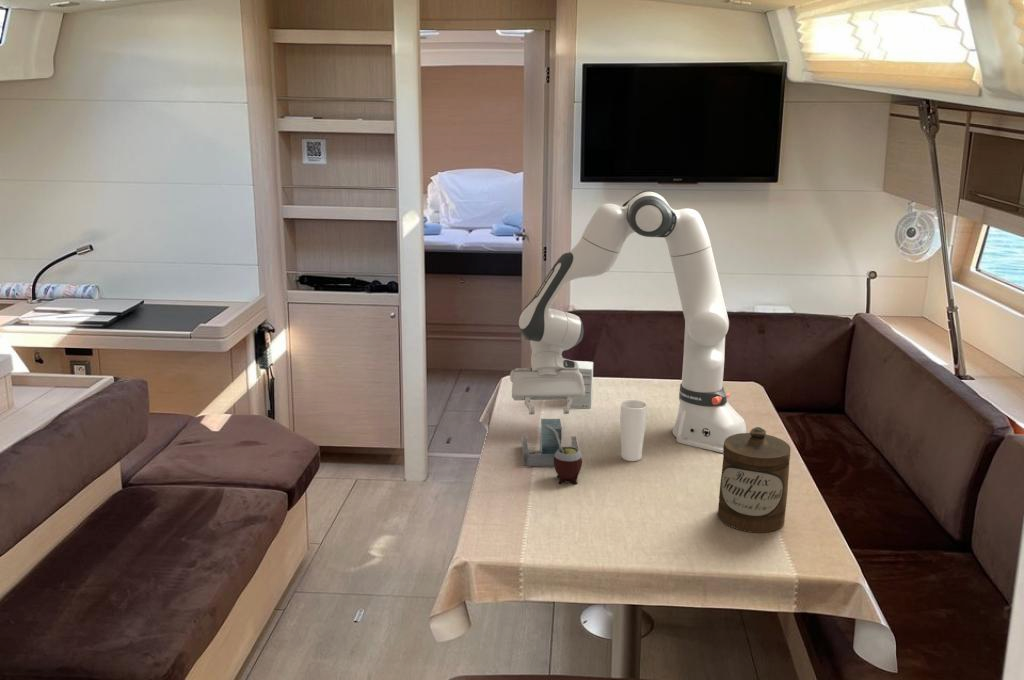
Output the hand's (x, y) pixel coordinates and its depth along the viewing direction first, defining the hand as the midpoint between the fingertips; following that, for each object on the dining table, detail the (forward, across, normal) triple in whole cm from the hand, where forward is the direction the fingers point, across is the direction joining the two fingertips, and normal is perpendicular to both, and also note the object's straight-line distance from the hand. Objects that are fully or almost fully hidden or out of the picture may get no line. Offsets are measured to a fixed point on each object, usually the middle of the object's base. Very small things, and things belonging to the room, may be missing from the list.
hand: (549, 413), depth 260 cm
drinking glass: (+15, +21, -4) cm, 26 cm away
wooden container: (+39, +43, -28) cm, 64 cm away
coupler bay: (+13, 0, -3) cm, 14 cm away
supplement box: (-14, +11, +26) cm, 31 cm away
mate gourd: (+24, +2, -14) cm, 28 cm away
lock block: (+13, 0, -3) cm, 14 cm away
